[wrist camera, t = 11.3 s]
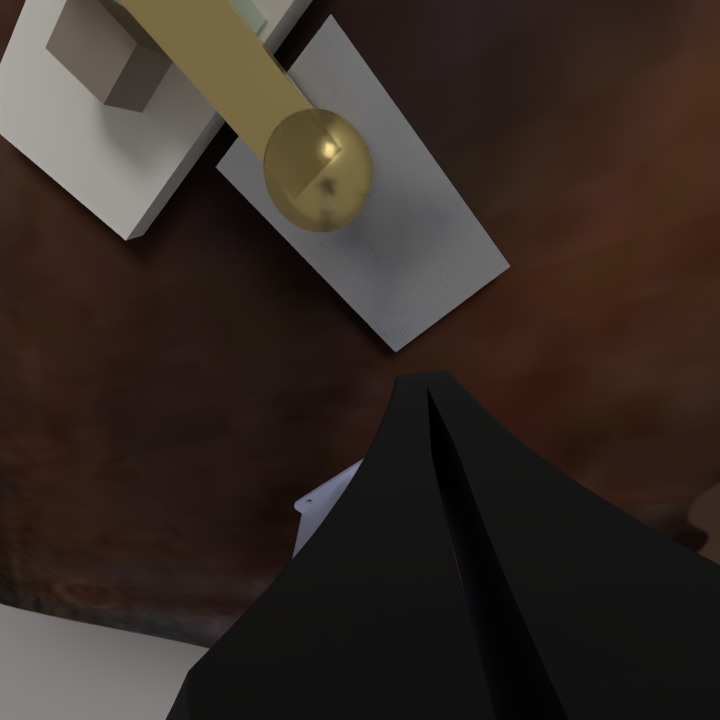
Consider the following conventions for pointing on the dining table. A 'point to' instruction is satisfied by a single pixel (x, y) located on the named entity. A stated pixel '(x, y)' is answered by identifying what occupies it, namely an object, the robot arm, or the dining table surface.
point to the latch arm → (265, 110)
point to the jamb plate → (380, 206)
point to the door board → (108, 133)
